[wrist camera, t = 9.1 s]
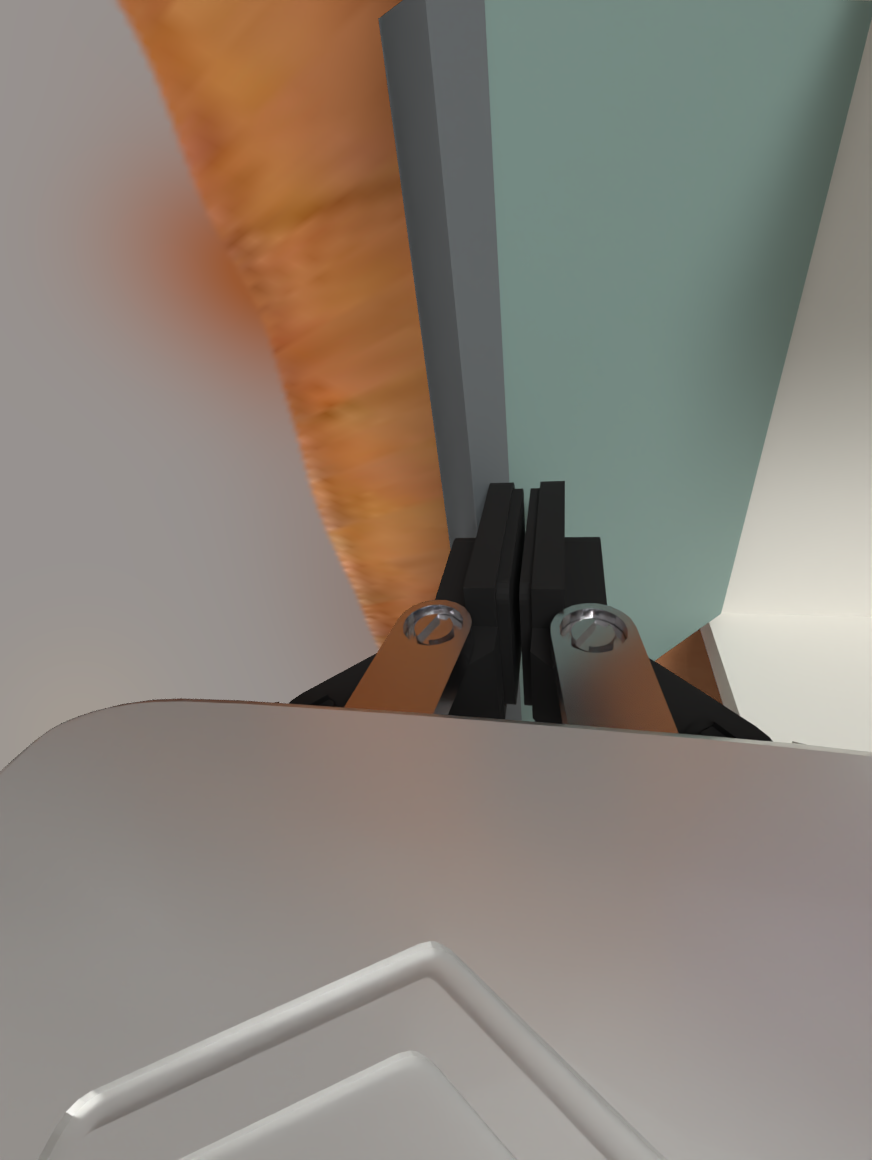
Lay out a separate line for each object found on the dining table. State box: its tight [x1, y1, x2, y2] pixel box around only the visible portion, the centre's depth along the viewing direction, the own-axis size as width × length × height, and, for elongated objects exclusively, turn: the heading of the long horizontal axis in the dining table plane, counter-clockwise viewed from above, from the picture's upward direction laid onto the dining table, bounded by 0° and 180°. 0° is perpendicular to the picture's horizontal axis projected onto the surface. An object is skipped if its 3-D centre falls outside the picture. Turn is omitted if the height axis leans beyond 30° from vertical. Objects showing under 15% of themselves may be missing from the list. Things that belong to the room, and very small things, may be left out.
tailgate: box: [379, 0, 872, 722], centre depth 15 cm, size 1×18×12 cm
